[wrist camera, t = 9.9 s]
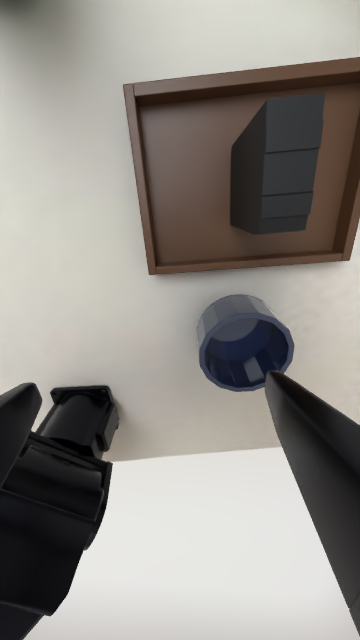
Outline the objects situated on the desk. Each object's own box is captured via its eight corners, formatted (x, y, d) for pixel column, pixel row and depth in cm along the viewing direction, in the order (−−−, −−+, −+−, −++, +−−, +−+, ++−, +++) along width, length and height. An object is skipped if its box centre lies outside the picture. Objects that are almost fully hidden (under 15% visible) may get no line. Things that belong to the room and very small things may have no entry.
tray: (152, 268, 20) (148, 275, 18) (130, 99, 15) (122, 83, 13) (333, 255, 19) (350, 260, 17) (370, 72, 15) (398, 52, 13)
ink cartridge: (259, 223, 18) (310, 233, 11) (229, 225, 18) (259, 236, 11) (264, 143, 16) (333, 89, 8) (230, 147, 16) (269, 95, 9)
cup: (198, 364, 24) (201, 393, 21) (195, 297, 21) (197, 316, 17) (271, 360, 24) (287, 389, 20) (279, 291, 21) (300, 310, 17)
